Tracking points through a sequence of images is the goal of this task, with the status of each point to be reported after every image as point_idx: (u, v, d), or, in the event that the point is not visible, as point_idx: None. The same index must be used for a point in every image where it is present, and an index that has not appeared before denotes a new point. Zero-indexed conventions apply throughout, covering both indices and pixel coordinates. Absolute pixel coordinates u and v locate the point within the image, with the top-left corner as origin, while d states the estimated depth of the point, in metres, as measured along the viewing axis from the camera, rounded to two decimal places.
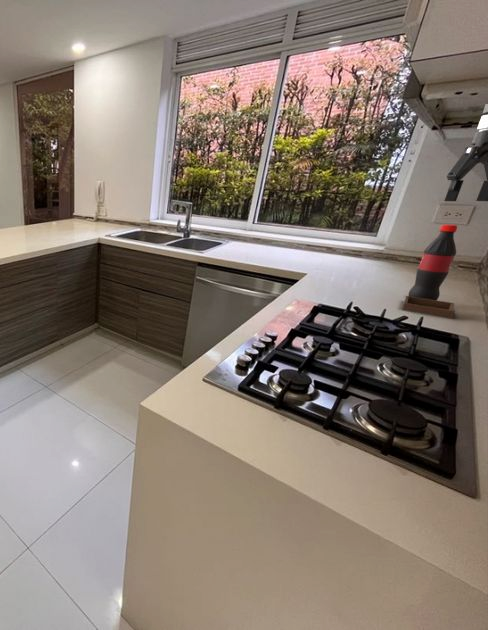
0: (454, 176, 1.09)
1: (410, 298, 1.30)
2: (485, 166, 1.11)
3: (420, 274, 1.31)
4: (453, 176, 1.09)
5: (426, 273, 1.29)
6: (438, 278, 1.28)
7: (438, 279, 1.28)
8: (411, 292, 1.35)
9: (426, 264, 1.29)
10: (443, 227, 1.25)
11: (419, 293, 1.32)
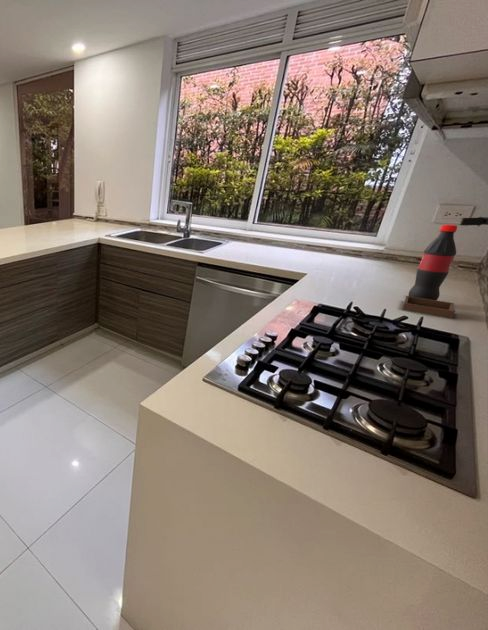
0: None
1: (410, 298, 1.30)
2: None
3: (420, 274, 1.31)
4: None
5: (426, 273, 1.29)
6: (438, 278, 1.28)
7: (438, 279, 1.28)
8: (411, 292, 1.35)
9: (426, 264, 1.29)
10: (443, 227, 1.25)
11: (419, 293, 1.32)
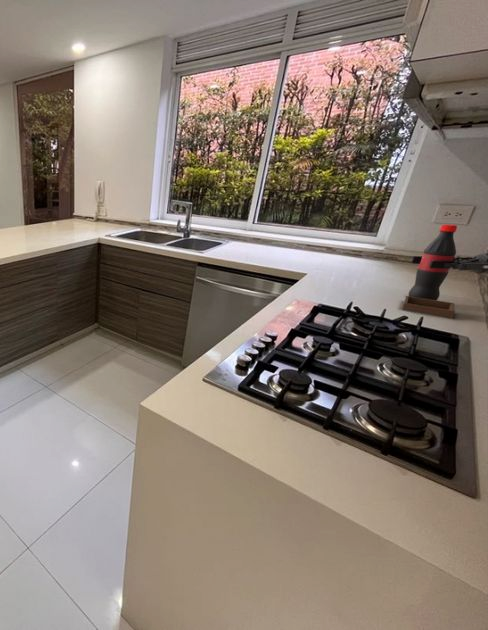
0: None
1: (410, 298, 1.30)
2: None
3: (420, 274, 1.31)
4: None
5: (426, 273, 1.29)
6: (438, 278, 1.28)
7: (438, 279, 1.28)
8: (411, 292, 1.35)
9: (425, 264, 1.29)
10: (443, 227, 1.25)
11: (419, 293, 1.32)
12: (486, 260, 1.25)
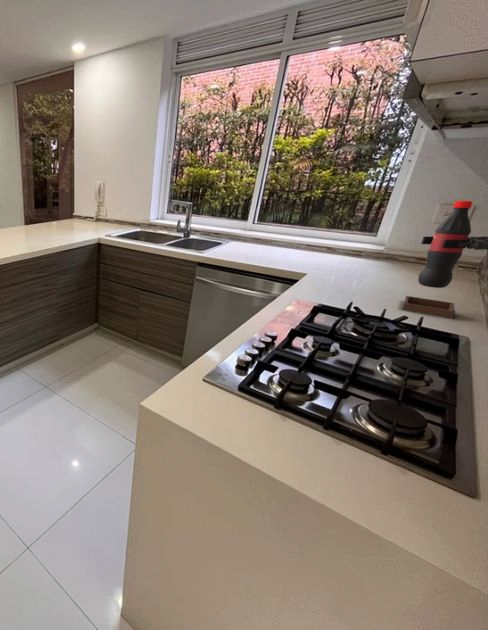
0: None
1: (410, 298, 1.30)
2: None
3: (431, 255, 1.21)
4: None
5: (438, 254, 1.19)
6: (451, 259, 1.18)
7: (451, 260, 1.18)
8: (421, 275, 1.25)
9: (437, 244, 1.19)
10: (457, 203, 1.15)
11: (430, 276, 1.22)
12: None
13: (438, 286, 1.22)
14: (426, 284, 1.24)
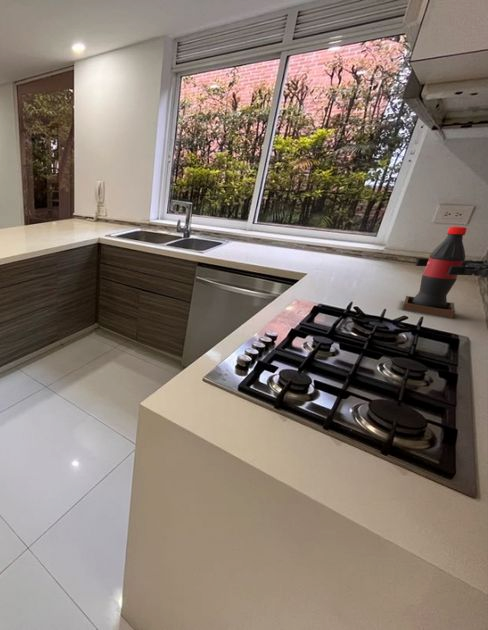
0: None
1: (410, 298, 1.30)
2: None
3: (425, 281, 1.20)
4: None
5: (432, 280, 1.18)
6: (445, 285, 1.16)
7: (445, 286, 1.16)
8: (415, 300, 1.23)
9: (431, 269, 1.18)
10: (451, 229, 1.14)
11: (424, 301, 1.21)
12: None
13: None
14: None
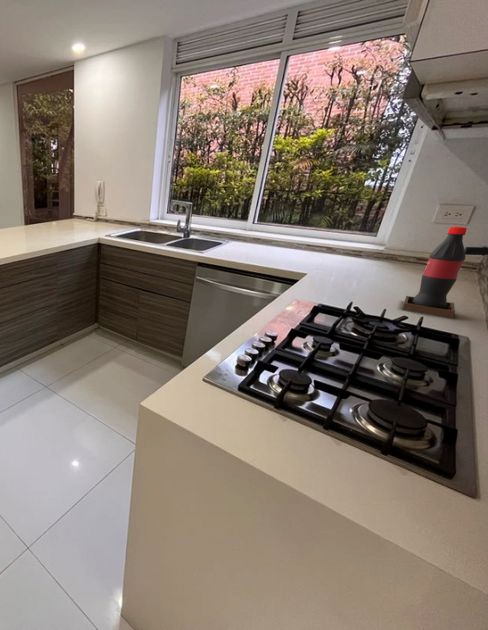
0: None
1: (410, 298, 1.30)
2: None
3: (425, 281, 1.20)
4: None
5: (432, 280, 1.18)
6: (445, 285, 1.16)
7: (445, 286, 1.16)
8: (415, 300, 1.23)
9: (431, 269, 1.18)
10: (451, 229, 1.14)
11: (424, 301, 1.21)
12: None
13: None
14: None
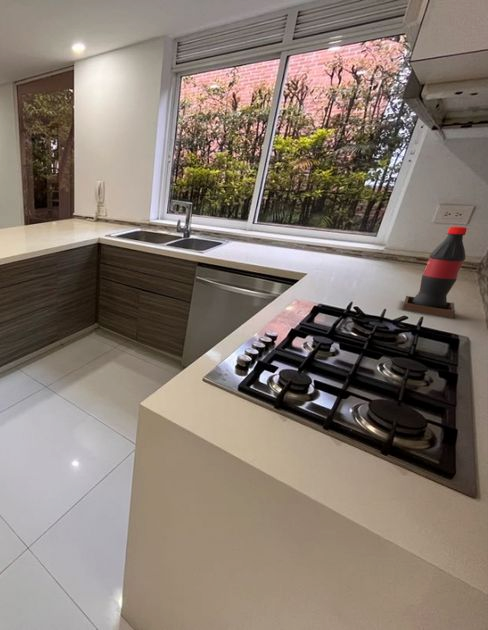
0: None
1: (410, 298, 1.30)
2: None
3: (425, 281, 1.20)
4: None
5: (432, 280, 1.18)
6: (445, 285, 1.16)
7: (445, 286, 1.16)
8: (415, 300, 1.23)
9: (431, 269, 1.18)
10: (451, 229, 1.14)
11: (424, 301, 1.21)
12: None
13: None
14: None
